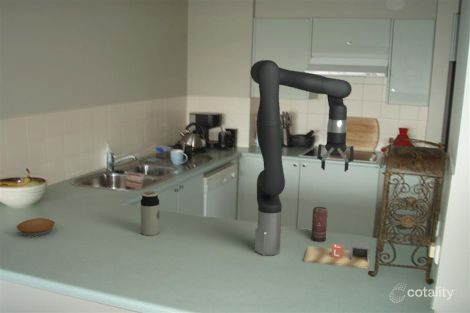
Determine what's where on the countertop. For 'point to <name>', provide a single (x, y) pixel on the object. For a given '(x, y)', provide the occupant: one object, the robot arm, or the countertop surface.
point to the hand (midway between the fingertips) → (334, 170)
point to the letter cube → (337, 251)
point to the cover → (360, 249)
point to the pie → (36, 227)
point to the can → (319, 224)
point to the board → (326, 258)
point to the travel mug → (150, 213)
